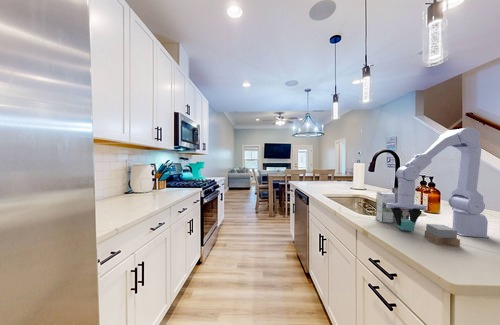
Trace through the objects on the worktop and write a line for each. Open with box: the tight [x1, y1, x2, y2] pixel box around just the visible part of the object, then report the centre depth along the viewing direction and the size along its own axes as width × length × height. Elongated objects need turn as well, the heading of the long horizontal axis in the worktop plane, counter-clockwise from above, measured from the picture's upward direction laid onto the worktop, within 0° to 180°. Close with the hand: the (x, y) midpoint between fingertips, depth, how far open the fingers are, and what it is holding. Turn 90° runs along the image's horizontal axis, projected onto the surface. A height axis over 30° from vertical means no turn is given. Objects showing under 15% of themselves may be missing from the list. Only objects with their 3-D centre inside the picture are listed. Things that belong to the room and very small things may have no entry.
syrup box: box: [375, 191, 395, 224], centre depth 99 cm, size 6×6×14 cm
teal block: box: [396, 219, 415, 232], centre depth 87 cm, size 4×4×4 cm
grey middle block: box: [425, 223, 458, 239], centre depth 76 cm, size 6×6×3 cm
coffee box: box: [391, 187, 410, 223], centre depth 100 cm, size 9×6×16 cm
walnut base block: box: [424, 230, 461, 248], centre depth 76 cm, size 7×7×3 cm
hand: (405, 225), depth 87 cm, fingers closed on teal block, 4 cm apart
